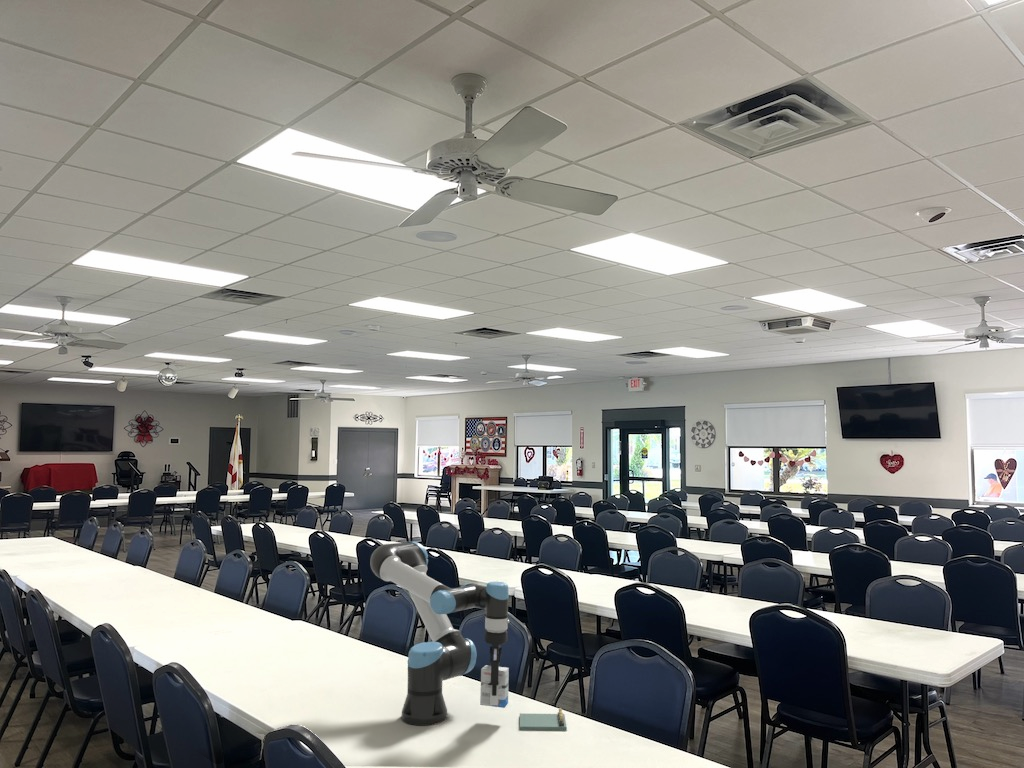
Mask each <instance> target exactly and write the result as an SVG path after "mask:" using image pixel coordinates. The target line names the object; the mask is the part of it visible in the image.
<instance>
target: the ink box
mask: <svg viewBox="0 0 1024 768" xmlns="http://www.w3.org/2000/svg"><path fill="white" fill-rule="evenodd" d="M509 669H510V668H509V667H506V666H503V667H502V666H499V675H498V682H499V691H498V705H490V685H488V683H490V682H491V665H489V664H488V665H487V664H486V665H484V666H483V667H482V668H481V669H480V699H479V700H480V706H485V707H495V708H502V709H504V708H506V707H507V706H508V704H509V680H510V679H509V677H510V675H509V674H510V673H509V671H510V670H509Z"/></svg>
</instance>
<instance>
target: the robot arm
mask: <svg viewBox="0 0 1024 768" xmlns="http://www.w3.org/2000/svg"><path fill="white" fill-rule="evenodd" d="M428 558H429V555H428V551H427V550H426V548H425V546H424V545H422V543H419V542H417V541H404V542H395V543H385V544H381V545H380V546H378V547H377V548H376V549H374V551H373V552H372V553H371V555H370V559H369V560H370V562H369V563H370V569H371V571H372V573H373V574H374V575H375V576H376V577H377V578H379V579H381V580H383V581H384V582H391V583H393V584H395V585H397V586H399V587H401V588H402V589H405V590H406V591H408V594H409V595H410V597H411V599H412V600H411V601H413V603H414V606H415V608H416V610H417V612H418V614H419V616H420V618H421V620H422V623H423V624H424V627H425V628H426V631H427V633H428V635H429V637H430V640H431V641H427V642H426V641H423V642H419V643H417V644H414V645H413V646H412V647H410V649H409V651H408V655H407V656H408V658H407V692H406V693H407V694H406V698H405V700H404V704H403V707H402V709H401V720H402V722H404V723H405V724H409V725H413V726H431V725H435V724H436V725H437V724H440V723H442V722H444V721H445V720H446V719H447V717H448V708H447V705H446V702H445V699H444V698H445V697H444V694H443V681H447V680H450V679H453V678H456V677H461V676H463V675H465V674H469V672H471V671H472V670H474V667H475V665H476V662H477V654H478V653H477V648H476V645H475V643H474V642H473V641H472V640H471V639H469V638H468V637H463V635H462V633H461V631H460V630H459V629H455V628H454V627H453V624H452V623H451V620H450V618H449V617H448V614H451V613H457V612H459V611H465V610H469V609H473V608H474V609H475V608H476V609H482V610H485V619H484V620H485V621H484V629H485V631H484V641H485V643H486V644H490V645H491V646H489V655H490V656H489V662H490V666H491V682H490V683H488V685H490V705H498V691H499V682H498V675H499V667H500V663H501V659H502V651H503V649H502V648H503V647H502V646H501V645H504V644H506V643H507V642H508V631H507V630H508V624H510V619H508V618H509V599H510V595H509V585H508V583H506V582H504V581H489V582H488V583H487V584H486V585H480V584H477V583H474V582H471V583H470V582H465V583H463V584H461V586H460V587H459V586H458V587H449V586H447V585H445V584H443V583H441V582H439V581H437V580H435V578H432V577H430V576H428V575H427V571H428V564H429V559H428Z"/></svg>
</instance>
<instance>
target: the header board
mask: <svg viewBox="0 0 1024 768" xmlns="http://www.w3.org/2000/svg"><path fill="white" fill-rule="evenodd" d="M567 728H568V727H567V721H566V716H565V713H563V708H560V707H559V708H558V712H557V713H519V730H520V731H522V730H523V731H535V730H536V731H567Z"/></svg>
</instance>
